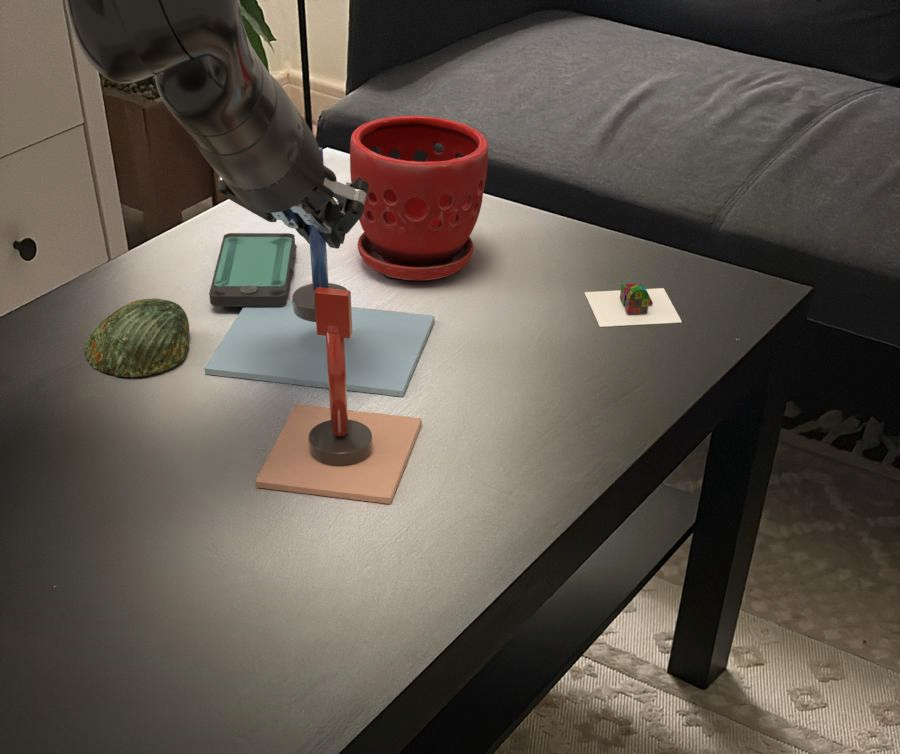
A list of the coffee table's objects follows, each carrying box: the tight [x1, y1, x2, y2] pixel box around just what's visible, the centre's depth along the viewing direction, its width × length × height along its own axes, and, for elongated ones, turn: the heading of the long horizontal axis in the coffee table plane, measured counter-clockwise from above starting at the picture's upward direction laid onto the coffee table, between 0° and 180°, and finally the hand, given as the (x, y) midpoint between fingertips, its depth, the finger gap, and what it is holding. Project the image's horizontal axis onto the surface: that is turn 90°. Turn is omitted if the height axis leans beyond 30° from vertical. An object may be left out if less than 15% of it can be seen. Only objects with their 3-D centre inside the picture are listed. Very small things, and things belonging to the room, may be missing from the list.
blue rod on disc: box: [291, 146, 348, 322], centre depth 110 cm, size 5×5×13 cm
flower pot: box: [349, 115, 489, 281], centre depth 125 cm, size 13×13×12 cm
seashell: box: [84, 298, 190, 379], centre depth 115 cm, size 10×4×10 cm
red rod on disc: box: [308, 287, 373, 466], centre depth 100 cm, size 5×5×13 cm
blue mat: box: [203, 299, 435, 398], centre depth 117 cm, size 18×14×1 cm
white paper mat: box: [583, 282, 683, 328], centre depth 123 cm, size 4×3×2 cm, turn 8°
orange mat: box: [254, 403, 422, 505], centre depth 105 cm, size 11×12×1 cm
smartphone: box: [208, 232, 297, 307], centre depth 126 cm, size 7×1×15 cm
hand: (327, 235), depth 112 cm, fingers closed on blue rod on disc, 1 cm apart
